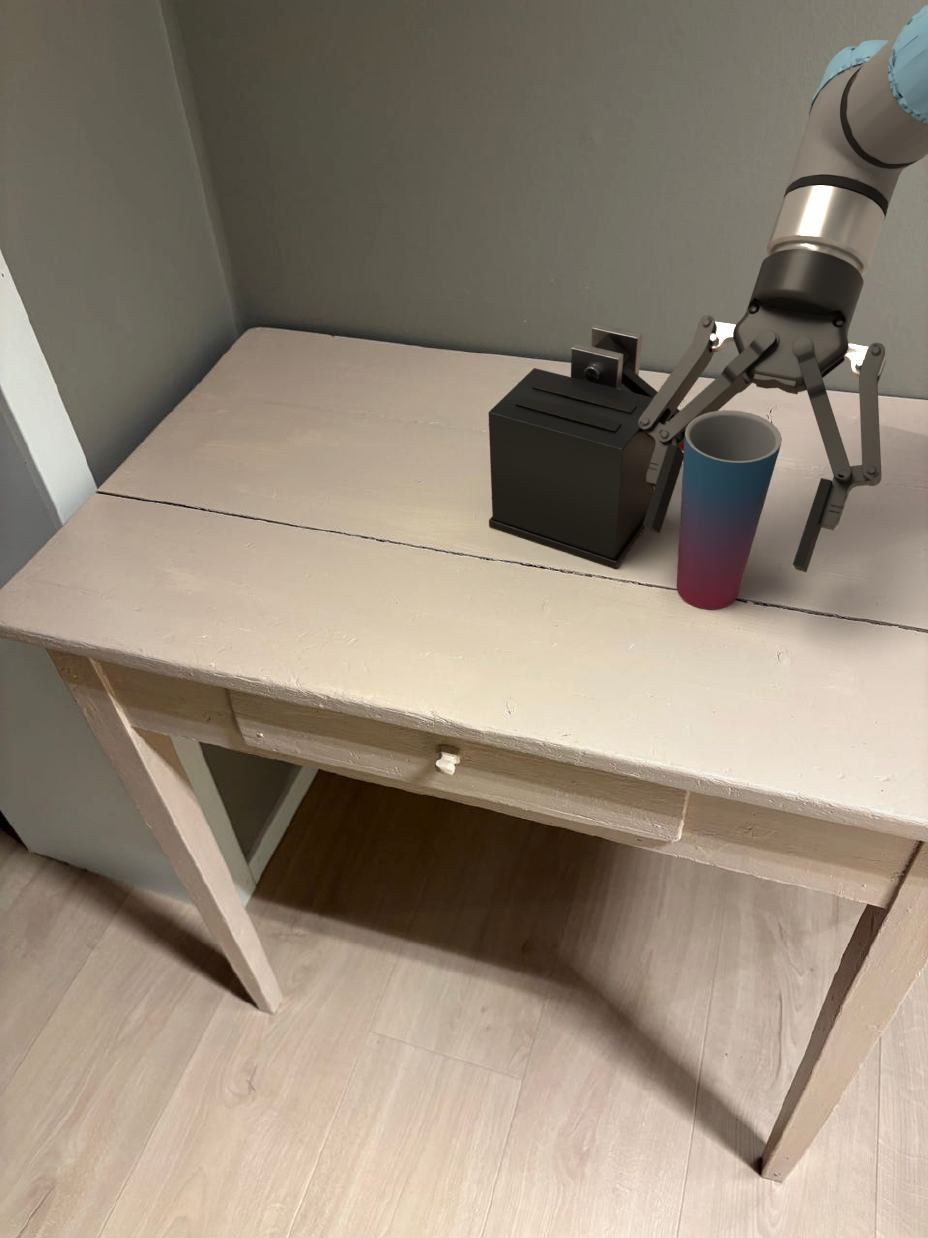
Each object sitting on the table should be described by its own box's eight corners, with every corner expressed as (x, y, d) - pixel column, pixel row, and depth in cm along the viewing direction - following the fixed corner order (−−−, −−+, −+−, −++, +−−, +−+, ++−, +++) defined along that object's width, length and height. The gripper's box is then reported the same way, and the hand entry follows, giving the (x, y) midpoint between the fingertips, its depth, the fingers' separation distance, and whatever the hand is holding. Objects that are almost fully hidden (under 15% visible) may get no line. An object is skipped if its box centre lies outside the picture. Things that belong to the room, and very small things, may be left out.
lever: (704, 447, 86) (728, 423, 84) (689, 468, 84) (714, 443, 81) (592, 353, 86) (613, 325, 84) (574, 372, 84) (595, 343, 81)
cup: (697, 551, 83) (720, 399, 73) (765, 587, 79) (800, 432, 69) (648, 590, 80) (665, 437, 69) (717, 629, 76) (746, 474, 66)
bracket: (660, 469, 92) (675, 337, 82) (635, 503, 88) (647, 369, 79) (567, 443, 96) (570, 314, 86) (539, 474, 92) (539, 343, 83)
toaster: (654, 515, 87) (667, 398, 79) (616, 569, 82) (625, 450, 74) (532, 478, 92) (532, 364, 84) (488, 526, 87) (483, 410, 79)
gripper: (979, 310, 70) (884, 596, 71) (676, 267, 80) (595, 519, 81) (988, 266, 63) (882, 583, 64) (655, 225, 73) (568, 501, 74)
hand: (722, 548), depth 73 cm, fingers open, 11 cm apart
